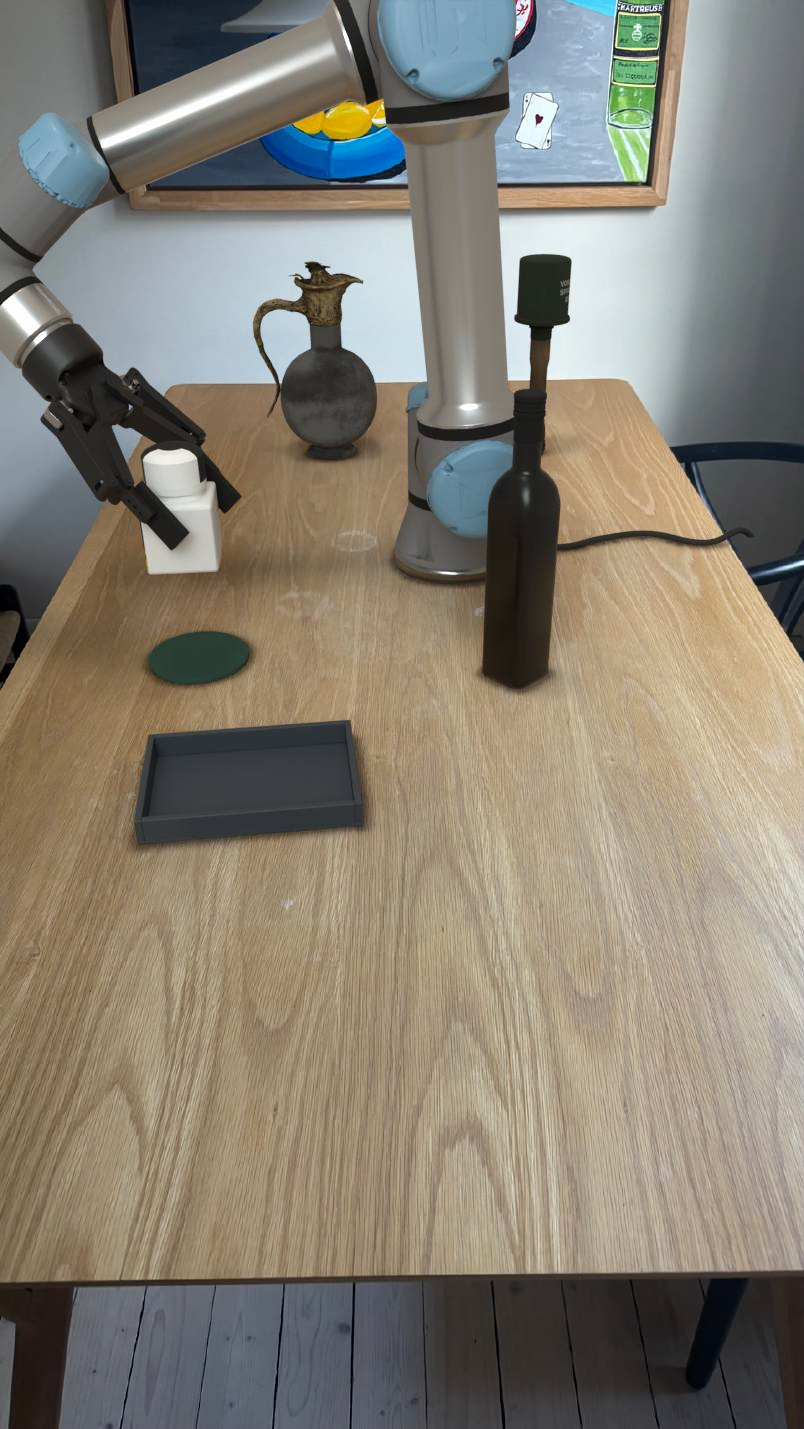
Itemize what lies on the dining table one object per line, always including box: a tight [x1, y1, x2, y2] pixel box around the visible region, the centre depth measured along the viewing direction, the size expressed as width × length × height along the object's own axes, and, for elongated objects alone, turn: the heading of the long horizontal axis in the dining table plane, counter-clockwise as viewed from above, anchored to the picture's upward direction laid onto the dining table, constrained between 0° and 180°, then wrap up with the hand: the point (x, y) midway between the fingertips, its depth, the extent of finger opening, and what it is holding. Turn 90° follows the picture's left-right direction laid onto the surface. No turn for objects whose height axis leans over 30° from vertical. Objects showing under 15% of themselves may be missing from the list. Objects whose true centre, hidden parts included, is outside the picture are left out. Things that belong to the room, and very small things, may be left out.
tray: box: [133, 719, 364, 845], centre depth 93 cm, size 19×13×2 cm
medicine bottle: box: [139, 441, 223, 576], centre depth 103 cm, size 7×7×12 cm
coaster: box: [147, 630, 250, 685], centre depth 114 cm, size 11×11×1 cm
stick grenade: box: [513, 253, 573, 455], centre depth 162 cm, size 8×9×30 cm
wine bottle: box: [481, 388, 562, 690], centre depth 102 cm, size 6×6×30 cm
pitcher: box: [252, 260, 378, 461], centre depth 163 cm, size 11×19×30 cm, turn 97°
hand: (207, 522), depth 103 cm, fingers closed on medicine bottle, 9 cm apart
